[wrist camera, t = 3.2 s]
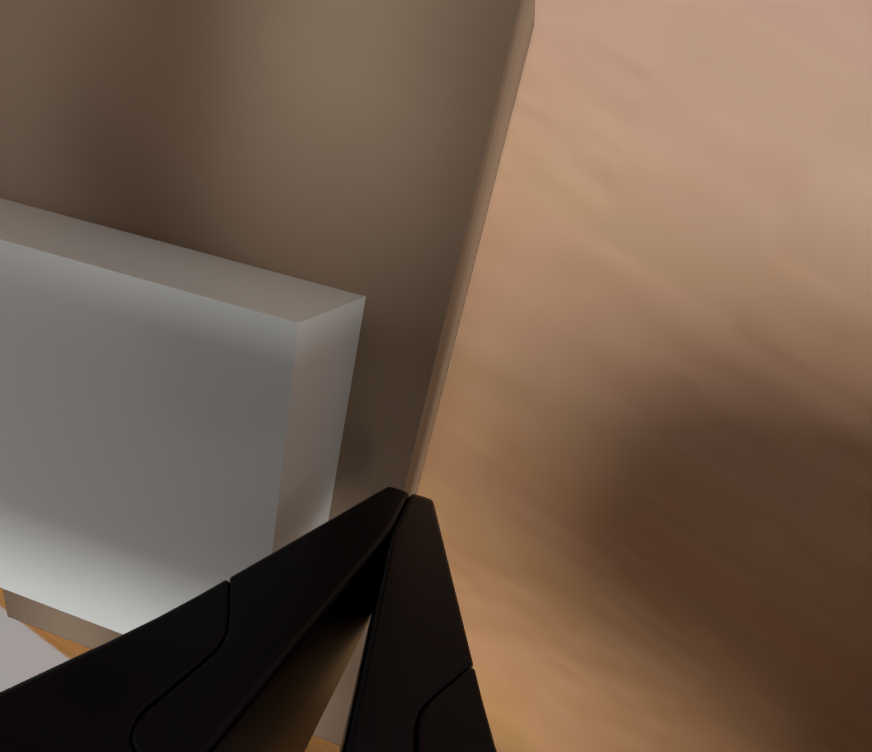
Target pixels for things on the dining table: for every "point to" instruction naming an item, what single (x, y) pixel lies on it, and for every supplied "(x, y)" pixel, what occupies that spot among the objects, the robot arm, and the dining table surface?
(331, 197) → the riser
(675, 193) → the dining table surface
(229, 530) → the coaster
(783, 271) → the dining table surface
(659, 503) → the dining table surface
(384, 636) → the robot arm
